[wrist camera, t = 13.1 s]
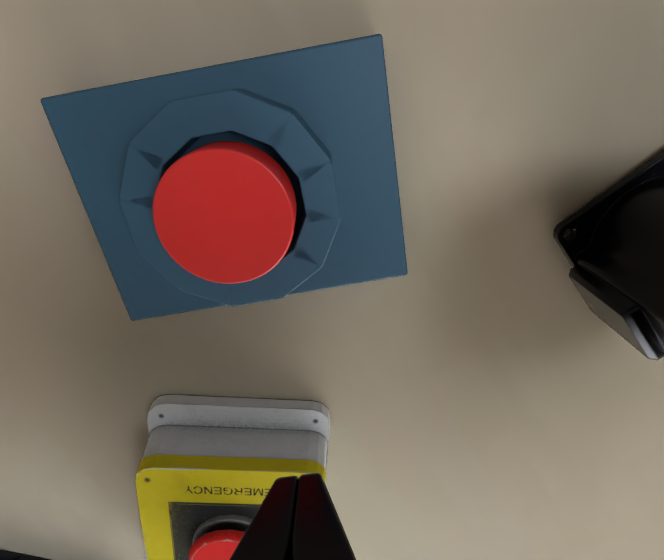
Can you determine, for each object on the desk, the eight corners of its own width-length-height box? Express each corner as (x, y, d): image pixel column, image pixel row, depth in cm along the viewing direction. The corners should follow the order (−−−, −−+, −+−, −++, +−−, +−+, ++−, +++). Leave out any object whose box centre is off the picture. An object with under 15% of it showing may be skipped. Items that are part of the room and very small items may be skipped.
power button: (282, 129, 14) (277, 135, 13) (307, 253, 16) (306, 272, 15) (151, 153, 15) (130, 162, 13) (190, 273, 16) (177, 294, 15)
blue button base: (376, 37, 16) (391, 26, 13) (401, 262, 20) (418, 297, 17) (61, 97, 17) (0, 100, 13) (143, 305, 20) (110, 347, 17)
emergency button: (334, 469, 19) (313, 664, 25) (331, 401, 23) (313, 583, 29) (111, 462, 18) (145, 662, 24) (149, 393, 22) (169, 581, 28)
